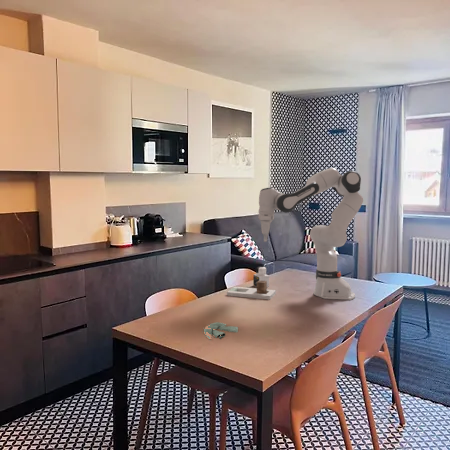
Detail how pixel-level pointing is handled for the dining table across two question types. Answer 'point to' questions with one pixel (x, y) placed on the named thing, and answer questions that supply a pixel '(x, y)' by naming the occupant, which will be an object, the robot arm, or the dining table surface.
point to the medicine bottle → (260, 276)
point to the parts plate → (250, 293)
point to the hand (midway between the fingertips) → (265, 240)
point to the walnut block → (262, 287)
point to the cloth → (221, 327)
